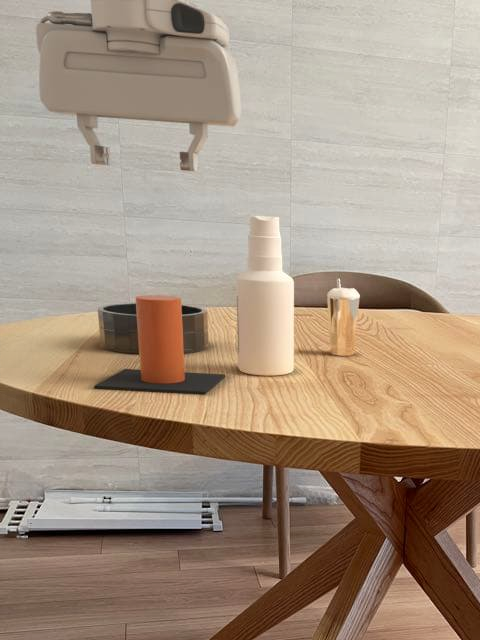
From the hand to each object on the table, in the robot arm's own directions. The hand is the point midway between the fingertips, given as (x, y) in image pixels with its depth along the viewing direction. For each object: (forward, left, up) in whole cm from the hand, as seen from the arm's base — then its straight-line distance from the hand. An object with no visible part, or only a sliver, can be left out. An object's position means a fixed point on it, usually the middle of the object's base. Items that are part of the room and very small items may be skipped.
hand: (145, 167), depth 88 cm
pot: (-6, +21, -22) cm, 31 cm away
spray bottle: (+12, +7, -23) cm, 26 cm away
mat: (+2, -3, -22) cm, 23 cm away
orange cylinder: (+1, -3, -22) cm, 22 cm away
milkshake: (+20, +23, -23) cm, 38 cm away
